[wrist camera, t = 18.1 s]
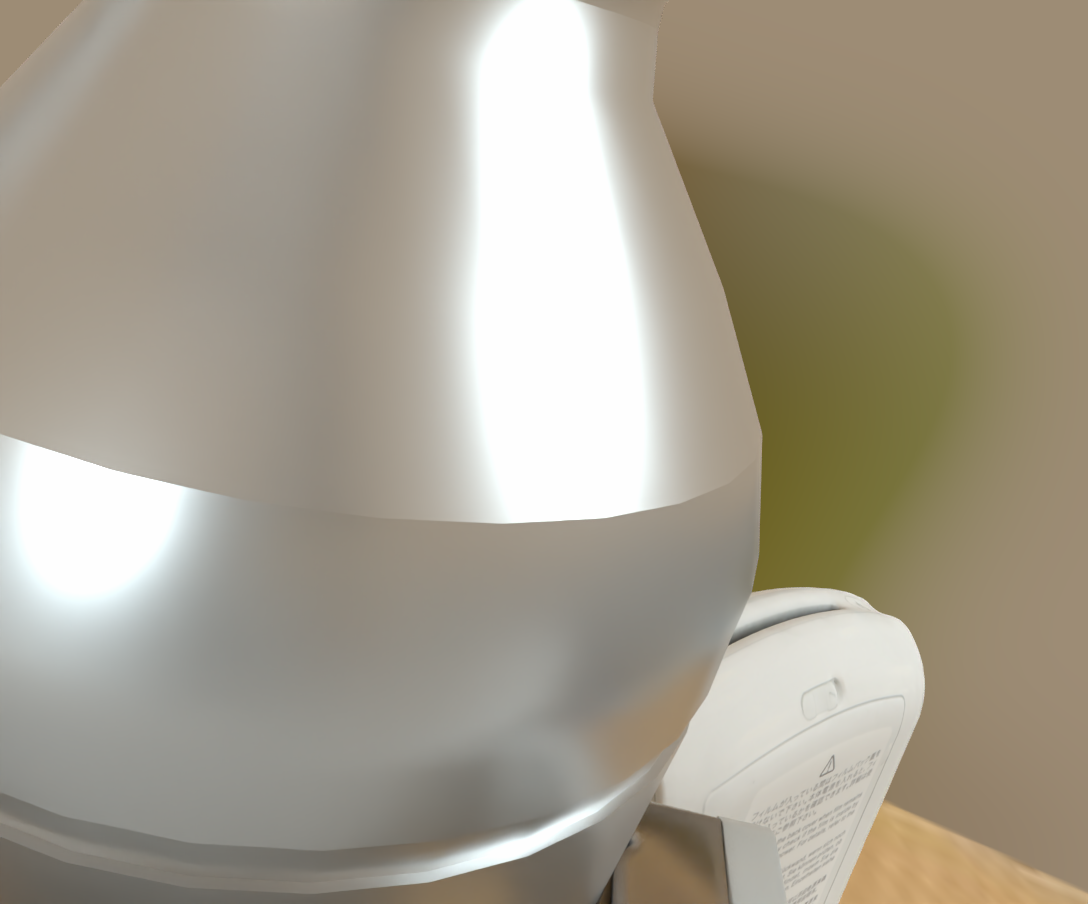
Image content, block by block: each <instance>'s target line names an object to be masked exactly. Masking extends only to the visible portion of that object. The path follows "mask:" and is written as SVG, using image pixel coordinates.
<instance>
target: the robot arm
mask: <svg viewBox="0 0 1088 904" xmlns="http://www.w3.org/2000/svg"><path fill="white" fill-rule="evenodd" d="M596 904H788V903H787V897H786V892H785V886H784V881H783V875H782V869H781V864H780V858H779V853H778V847H777V841H776V836H775V834H774V833H773V831H772V830H771V829H770V827H767V826H762V825H758V824H753V823H749V822H744V821H740V820H735V819H731V818H726V817H721V816H717V817H714V816H710V815H706V814H702V813H698V812H693V811H689V810H685V809H681V808H677V807H673V806H668V805H664V804H660V803H656V802H652V801H650V803H649V805H648V807H647V809H646V811H645V813H644V814H643V816H642V818H641V820H640V822H639V824H638V826H637V828H636V830H635V831H634V833H633V835H632V837H631V839H630V841H629V843H628V845H627V847H626V848H625V850H624V852H623V854H622V856H621V858H620V860H619V862H618V863H617V865H616V867H615V869H614V871H613V873H612V875H611V877H610V879H609V880H608V882H607V884H606V886H605V888H604V890H603V892H602V894H601V896H600V897H599V899H598V901H597V903H596Z"/></svg>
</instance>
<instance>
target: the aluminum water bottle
mask: <svg viewBox="0 0 1088 904" xmlns="http://www.w3.org/2000/svg"><path fill="white" fill-rule="evenodd" d="M668 1H669V0H83V1H82V2H81V3H80V4H79V5H78V6H77V7H76V8H75V9H74V10H73V11H72V12H71V13H70V14H69V15H68V16H67V17H66V19H65V20H64V21H63V22H62V23H61V24H60V25H59V26H58V27H57V28H56V29H55V30H54V31H53V32H52V33H51V34H50V35H49V36H48V38H47V39H46V40H45V41H44V42H43V43H42V44H41V45H40V46H39V47H38V48H37V49H36V50H35V51H34V52H33V53H32V54H31V55H30V56H29V57H28V59H27V60H26V61H25V62H24V63H23V64H22V65H21V66H20V67H19V68H18V69H17V70H16V71H15V72H14V73H13V74H12V76H11V77H10V78H9V79H8V80H7V81H6V82H5V83H4V84H3V85H2V86H1V87H0V904H596V903H597V901H598V899H599V897H600V896H601V894H602V892H603V890H604V888H605V886H606V884H607V882H608V880H609V879H610V877H611V875H612V873H613V871H614V869H615V867H616V865H617V863H618V862H619V860H620V858H621V856H622V854H623V852H624V850H625V848H626V847H627V845H628V843H629V841H630V839H631V837H632V835H633V833H634V831H635V830H636V828H637V826H638V824H639V822H640V820H641V818H642V816H643V814H644V813H645V811H646V809H647V807H648V805H649V803H650V801H651V799H652V797H653V796H654V794H655V792H656V790H657V788H658V786H659V784H660V782H661V780H662V779H663V777H664V775H665V773H666V771H667V769H668V767H669V765H670V763H671V762H672V760H673V758H674V756H675V754H676V752H677V750H678V748H679V746H680V745H681V743H682V741H683V739H684V737H685V735H686V733H687V730H688V727H689V723H690V721H691V719H692V718H693V716H694V715H695V713H696V712H697V710H698V709H699V707H700V706H701V705H702V703H703V702H704V700H705V699H706V697H707V696H708V693H709V691H710V689H711V686H712V684H713V681H714V679H715V676H716V674H717V671H718V669H719V667H720V664H721V662H722V659H723V657H724V654H725V652H726V649H727V647H728V645H729V642H730V640H731V637H732V635H733V633H734V631H735V628H736V626H737V624H738V622H739V619H740V617H741V615H742V613H743V610H744V608H745V606H746V604H747V601H748V599H749V597H750V595H751V592H752V588H753V583H754V577H755V572H756V567H757V562H758V557H759V533H760V530H759V529H760V497H761V459H762V457H761V456H762V432H761V428H760V424H759V421H758V417H757V413H756V409H755V406H754V402H753V398H752V394H751V390H750V387H749V383H748V379H747V375H746V372H745V368H744V364H743V360H742V357H741V353H740V349H739V345H738V342H737V338H736V334H735V331H734V327H733V323H732V319H731V315H730V312H729V308H728V304H727V300H726V297H725V293H724V289H723V286H722V284H721V281H720V278H719V276H718V273H717V270H716V268H715V265H714V262H713V260H712V257H711V254H710V252H709V249H708V247H707V244H706V241H705V239H704V236H703V233H702V231H701V228H700V225H699V223H698V220H697V217H696V215H695V212H694V209H693V207H692V204H691V201H690V199H689V196H688V194H687V191H686V188H685V186H684V183H683V180H682V178H681V175H680V172H679V170H678V167H677V165H676V162H675V159H674V156H673V154H672V151H671V148H670V146H669V143H668V140H667V138H666V135H665V132H664V130H663V127H662V124H661V122H660V119H659V117H658V114H657V111H656V109H655V106H654V103H653V90H654V77H655V64H656V52H657V51H656V50H657V38H658V28H659V25H660V21H661V17H662V13H663V8H664V5H665V4H666V3H667V2H668Z"/></svg>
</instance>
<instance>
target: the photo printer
mask: <svg viewBox="0 0 1088 904" xmlns="http://www.w3.org/2000/svg"><path fill="white" fill-rule="evenodd" d="M924 691H925V681H924V671H923V664H922V661H921V657H920V653H919V651H918V648H917V645H916V643H915V641H914V639H913V637H912V635H911V633H910V631H909V629H908V628H907V627H906V626H905V624H904V623H903V622H902V621H901V620H899V619H897V618H895V617H892V616H889V615H886V614H883V613H880V612H878V611H877V610H875V609H874V608H873V607H872V606H871V605H870V604H868V602H867V601H865V600H864V599H863V598H860V597H858V596H856V595H853V594H851V593H848V592H844V591H840V590H834V589H825V588H811V587H795V588H778V589H771V590H764V591H758V592H753V593H751V595H750V597H749V599H748V601H747V604H746V606H745V608H744V610H743V613H742V615H741V617H740V619H739V622H738V624H737V626H736V628H735V631H734V633H733V635H732V637H731V640H730V642H729V645H728V647H727V649H726V652H725V654H724V657H723V659H722V662H721V664H720V667H719V669H718V671H717V674H716V676H715V679H714V681H713V684H712V686H711V689H710V691H709V693H708V696H707V697H706V699H705V700H704V702H703V703H702V705H701V706H700V707H699V709H698V710H697V712H696V713H695V715H694V716H693V718H692V719H691V721H690V723H689V727H688V730H687V733H686V735H685V737H684V739H683V741H682V743H681V745H680V746H679V748H678V750H677V752H676V754H675V756H674V758H673V760H672V762H671V763H670V765H669V767H668V769H667V771H666V773H665V775H664V777H663V779H662V780H661V782H660V784H659V786H658V788H657V790H656V792H655V794H654V796H653V797H652V799H651V801H652V802H656V803H660V804H664V805H668V806H673V807H677V808H681V809H685V810H689V811H693V812H698V813H702V814H706V815H710V816H714V817H717V816H721V817H726V818H731V819H735V820H740V821H744V822H749V823H753V824H758V825H762V826H767V827H770V829H771V830H772V831H773V833H774V834H775V836H776V841H777V847H778V853H779V858H780V864H781V869H782V875H783V881H784V886H785V892H786V897H787V903H788V904H838V903H839V901H840V899H841V896H842V894H843V892H844V889H845V887H846V885H847V882H848V880H849V878H850V875H851V873H852V871H853V868H854V866H855V864H856V861H857V859H858V857H859V855H860V852H861V850H862V848H863V845H864V843H865V840H866V838H867V836H868V834H869V831H870V829H871V827H872V825H873V823H874V820H875V818H876V815H877V813H878V810H879V808H880V806H881V804H882V802H883V800H884V797H885V795H886V792H887V790H888V788H889V786H890V784H891V781H892V779H893V776H894V774H895V772H896V770H897V767H898V765H899V762H900V760H901V758H902V756H903V754H904V751H905V749H906V746H907V744H908V742H909V740H910V737H911V735H912V733H913V731H914V728H915V726H916V723H917V721H918V719H919V716H920V713H921V709H922V705H923V701H924Z"/></svg>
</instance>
